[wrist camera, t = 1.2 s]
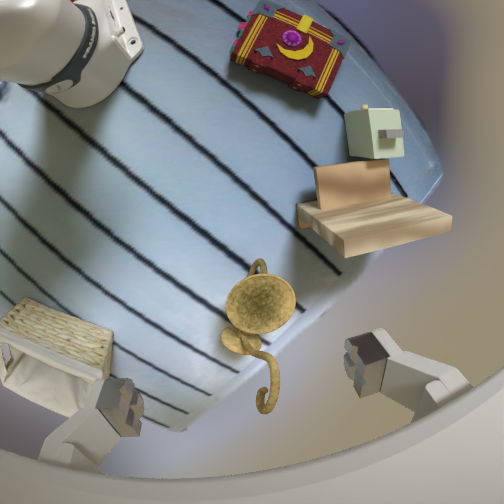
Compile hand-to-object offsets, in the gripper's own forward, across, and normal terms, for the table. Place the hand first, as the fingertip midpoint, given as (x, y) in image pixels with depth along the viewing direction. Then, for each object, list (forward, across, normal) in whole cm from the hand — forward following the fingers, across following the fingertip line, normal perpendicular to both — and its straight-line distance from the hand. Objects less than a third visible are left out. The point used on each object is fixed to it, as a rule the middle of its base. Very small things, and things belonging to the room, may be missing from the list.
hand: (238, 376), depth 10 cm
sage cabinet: (+36, -24, -7) cm, 44 cm away
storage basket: (+36, +38, +21) cm, 56 cm away
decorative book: (+36, -14, -22) cm, 44 cm away
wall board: (+36, -20, +2) cm, 41 cm away
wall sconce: (+36, -2, +15) cm, 39 cm away
